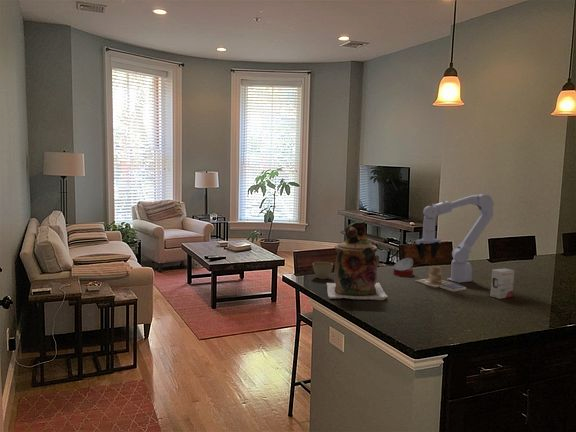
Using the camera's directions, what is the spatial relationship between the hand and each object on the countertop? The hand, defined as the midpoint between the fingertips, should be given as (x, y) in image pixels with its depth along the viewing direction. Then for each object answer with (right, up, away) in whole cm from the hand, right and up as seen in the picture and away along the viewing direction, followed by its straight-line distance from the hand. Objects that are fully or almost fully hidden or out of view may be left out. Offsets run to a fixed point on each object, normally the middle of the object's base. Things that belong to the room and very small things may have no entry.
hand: (427, 258), depth 244 cm
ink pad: (+7, -12, -18) cm, 23 cm away
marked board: (+1, -11, -8) cm, 14 cm away
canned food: (-9, -10, +11) cm, 17 cm away
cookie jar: (-39, -13, -29) cm, 51 cm away
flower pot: (-52, -10, -1) cm, 53 cm away
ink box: (+23, -14, -31) cm, 41 cm away
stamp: (+1, -11, -8) cm, 13 cm away
